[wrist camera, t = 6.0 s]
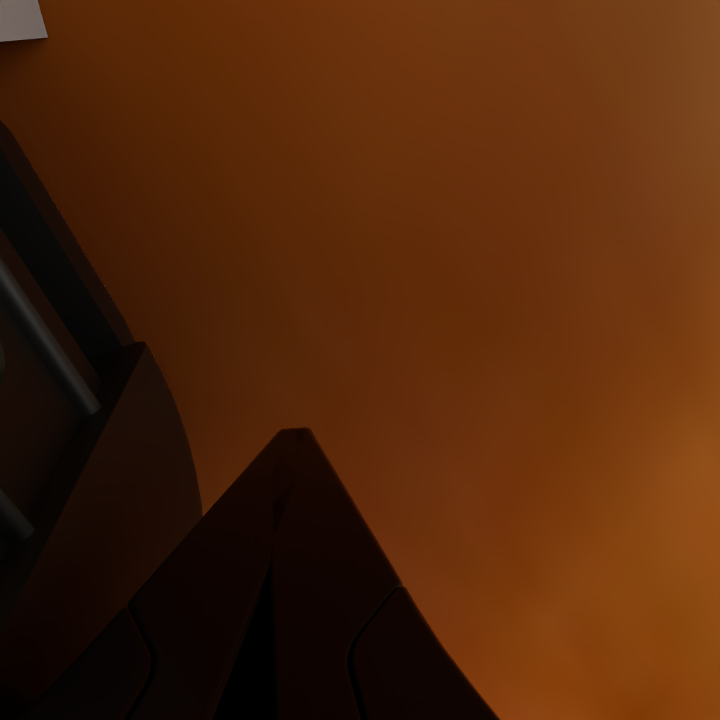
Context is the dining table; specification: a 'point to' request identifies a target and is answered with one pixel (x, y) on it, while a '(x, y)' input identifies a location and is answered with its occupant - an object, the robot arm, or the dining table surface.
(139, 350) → the end cap
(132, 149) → the dining table surface
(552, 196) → the dining table surface
